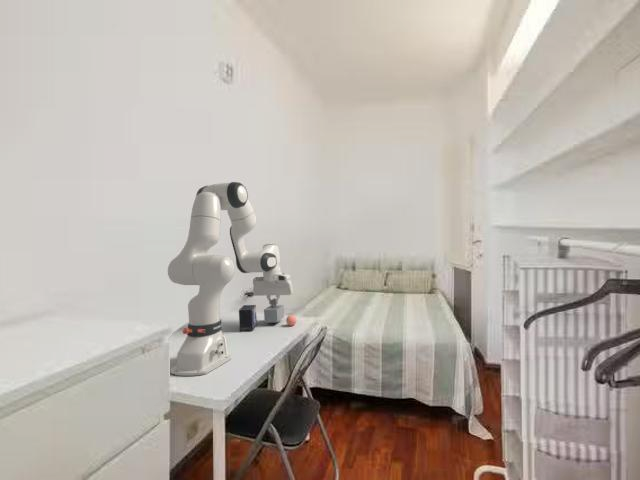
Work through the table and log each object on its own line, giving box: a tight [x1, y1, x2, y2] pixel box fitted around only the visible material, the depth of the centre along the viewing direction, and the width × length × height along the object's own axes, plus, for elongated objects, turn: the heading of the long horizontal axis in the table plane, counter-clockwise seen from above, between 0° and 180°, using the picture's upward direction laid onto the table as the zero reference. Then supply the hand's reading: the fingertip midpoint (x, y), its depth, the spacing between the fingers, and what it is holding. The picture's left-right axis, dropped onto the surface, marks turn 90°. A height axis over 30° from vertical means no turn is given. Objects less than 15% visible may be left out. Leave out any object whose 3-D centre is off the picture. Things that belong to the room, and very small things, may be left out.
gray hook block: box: [263, 297, 285, 323], centre depth 184 cm, size 11×7×10 cm, turn 168°
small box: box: [238, 304, 258, 332], centre depth 176 cm, size 11×6×10 cm, turn 179°
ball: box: [285, 314, 297, 327], centre depth 177 cm, size 5×5×5 cm
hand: (273, 304), depth 183 cm, fingers closed on gray hook block
